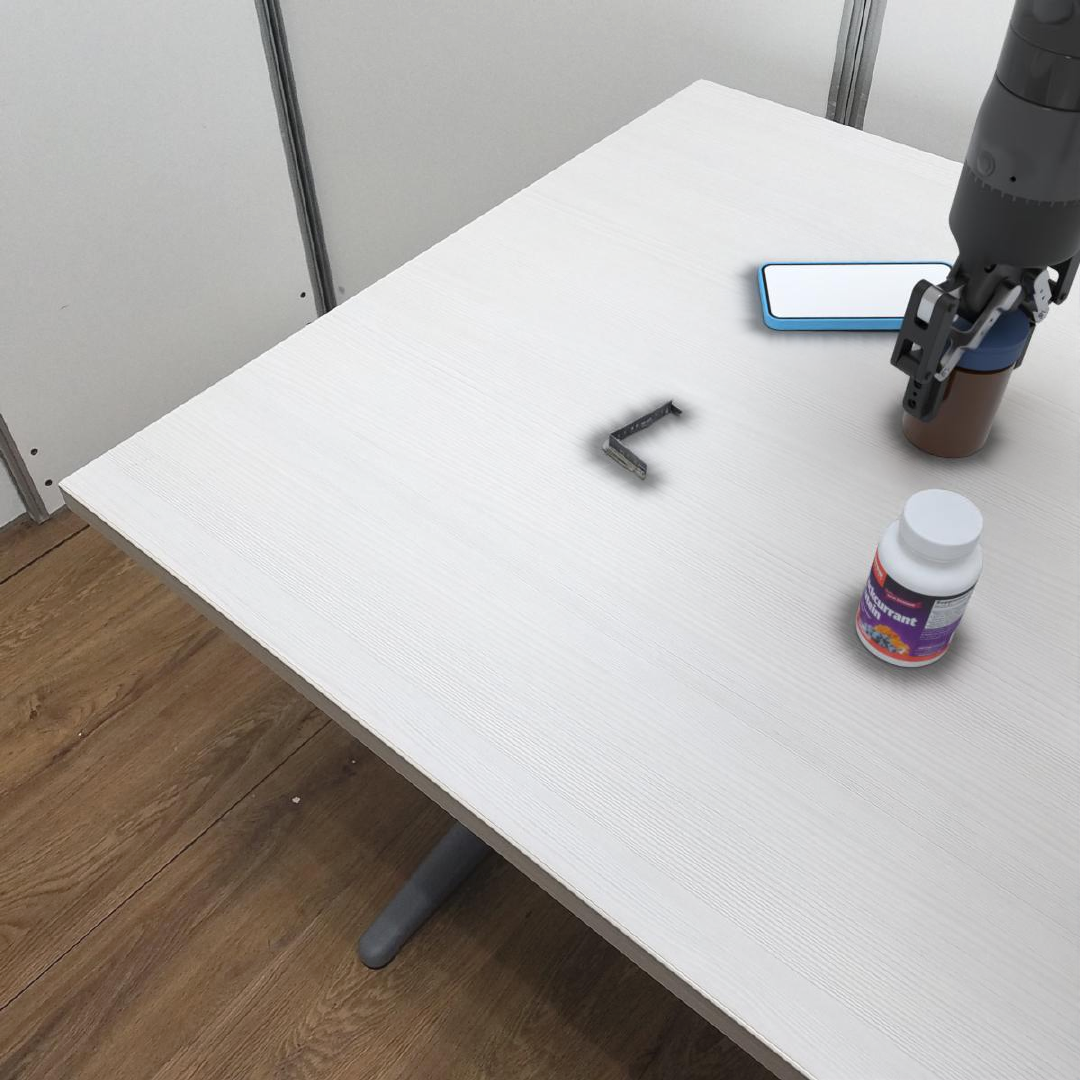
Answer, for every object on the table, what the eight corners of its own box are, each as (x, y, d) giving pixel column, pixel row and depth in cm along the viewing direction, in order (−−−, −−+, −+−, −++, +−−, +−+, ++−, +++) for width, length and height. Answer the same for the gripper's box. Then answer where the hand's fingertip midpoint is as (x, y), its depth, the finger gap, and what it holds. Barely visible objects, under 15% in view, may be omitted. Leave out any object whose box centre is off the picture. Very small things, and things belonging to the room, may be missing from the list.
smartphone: (757, 262, 90) (952, 261, 89) (756, 275, 91) (949, 273, 90) (767, 320, 85) (974, 319, 84) (765, 333, 85) (970, 332, 85)
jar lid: (905, 329, 73) (911, 307, 72) (975, 303, 75) (982, 281, 74) (970, 382, 70) (978, 359, 68) (1042, 352, 71) (1050, 330, 70)
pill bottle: (834, 616, 67) (868, 499, 60) (907, 584, 68) (949, 465, 61) (894, 684, 64) (938, 569, 56) (969, 648, 65) (1021, 531, 58)
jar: (999, 423, 78) (1037, 322, 72) (967, 469, 75) (1004, 368, 69) (922, 392, 80) (952, 291, 74) (887, 435, 77) (916, 334, 71)
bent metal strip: (675, 468, 73) (598, 459, 74) (673, 484, 74) (596, 474, 75) (684, 397, 78) (611, 388, 79) (682, 412, 79) (610, 403, 80)
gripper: (1012, 234, 58) (934, 466, 70) (1174, 147, 64) (1076, 375, 76) (898, 173, 62) (843, 402, 74) (1059, 96, 68) (984, 320, 80)
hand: (961, 388), depth 75 cm, fingers open, 8 cm apart
